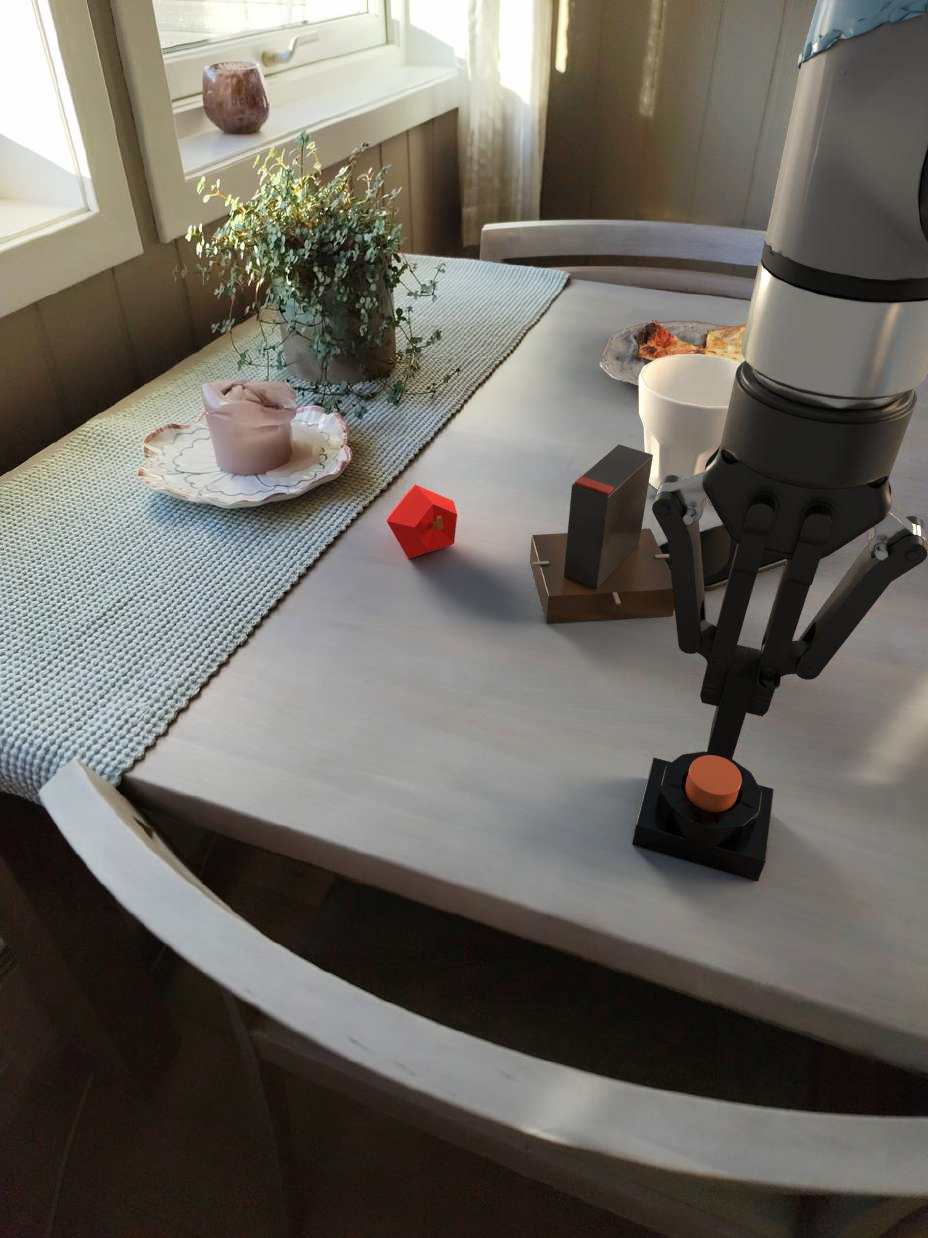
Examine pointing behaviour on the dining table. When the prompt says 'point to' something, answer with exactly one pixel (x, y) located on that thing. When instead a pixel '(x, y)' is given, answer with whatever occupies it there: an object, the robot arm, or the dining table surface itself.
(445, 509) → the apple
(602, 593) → the base
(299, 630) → the dining table surface
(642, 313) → the dining table surface
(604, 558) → the dark grey block
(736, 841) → the button block
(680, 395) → the cup
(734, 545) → the smartphone
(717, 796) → the button
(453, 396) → the dining table surface
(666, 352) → the food plate
